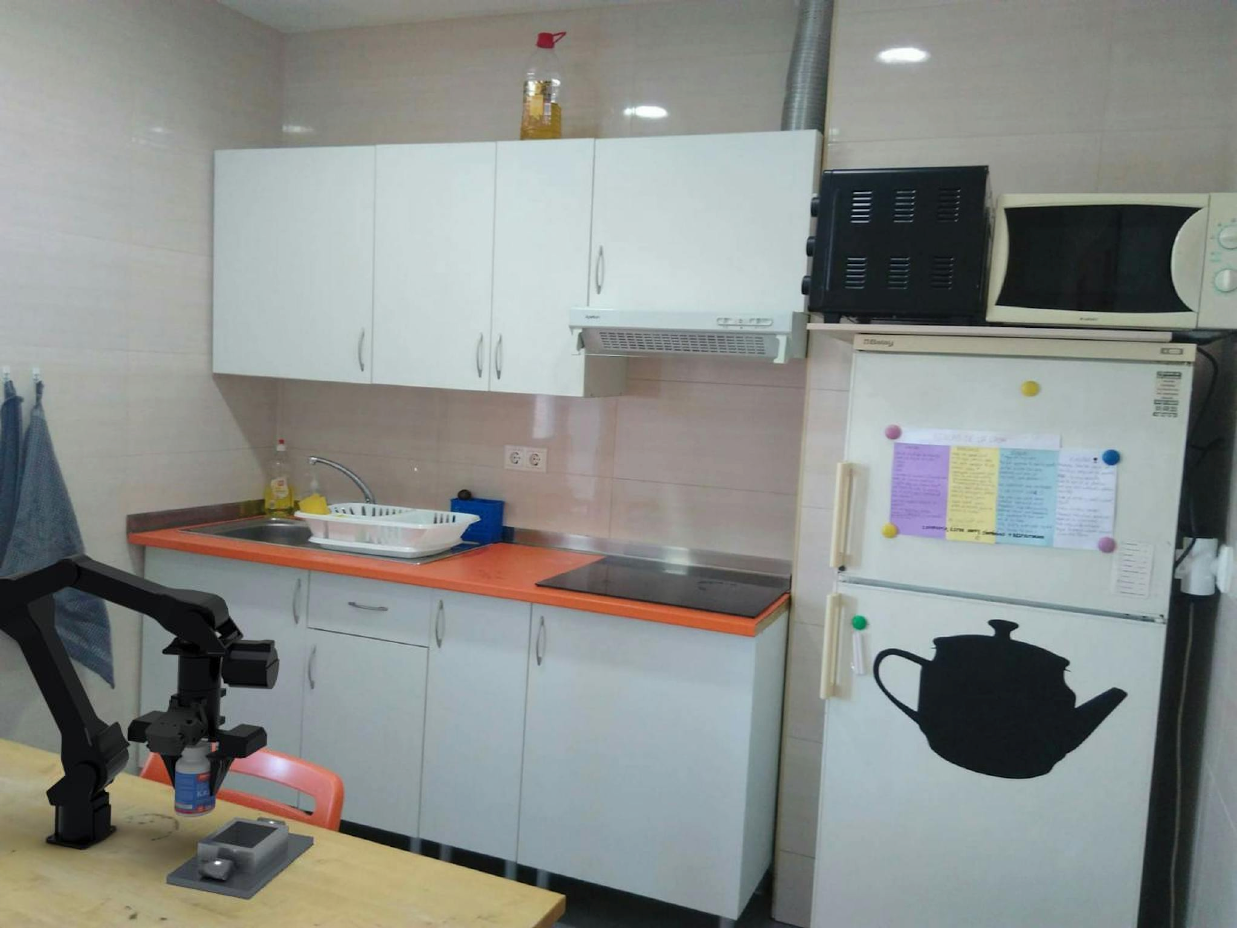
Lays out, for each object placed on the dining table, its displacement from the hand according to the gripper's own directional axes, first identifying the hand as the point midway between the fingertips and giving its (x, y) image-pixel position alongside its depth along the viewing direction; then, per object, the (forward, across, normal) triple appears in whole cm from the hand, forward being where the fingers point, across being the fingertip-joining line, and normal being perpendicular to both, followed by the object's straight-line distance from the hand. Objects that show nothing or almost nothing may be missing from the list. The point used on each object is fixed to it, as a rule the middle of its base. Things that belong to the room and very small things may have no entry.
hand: (195, 792), depth 137 cm
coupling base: (+7, +10, -3) cm, 13 cm away
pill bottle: (+3, 0, 0) cm, 3 cm away
